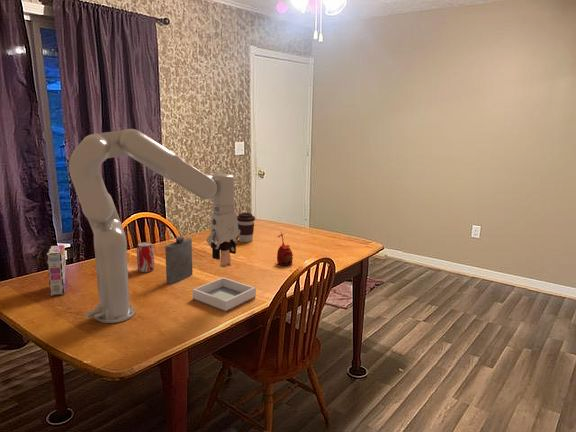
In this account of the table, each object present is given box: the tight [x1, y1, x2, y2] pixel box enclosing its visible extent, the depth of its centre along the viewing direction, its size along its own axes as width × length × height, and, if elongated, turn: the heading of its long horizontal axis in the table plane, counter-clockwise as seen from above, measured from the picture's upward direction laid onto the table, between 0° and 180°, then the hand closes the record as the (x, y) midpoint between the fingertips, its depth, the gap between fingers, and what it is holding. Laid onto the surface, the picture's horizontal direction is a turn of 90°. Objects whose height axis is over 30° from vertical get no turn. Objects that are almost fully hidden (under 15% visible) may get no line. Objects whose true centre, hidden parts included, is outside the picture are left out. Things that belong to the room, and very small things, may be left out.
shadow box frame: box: [192, 276, 257, 313], centre depth 162 cm, size 16×17×4 cm
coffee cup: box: [237, 212, 256, 243], centre depth 235 cm, size 10×10×15 cm
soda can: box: [136, 241, 155, 273], centre depth 188 cm, size 7×7×12 cm
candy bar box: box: [46, 244, 68, 297], centre depth 164 cm, size 11×5×16 cm, turn 21°
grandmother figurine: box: [218, 241, 234, 268], centre depth 158 cm, size 8×4×13 cm, turn 141°
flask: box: [164, 236, 194, 285], centre depth 178 cm, size 4×14×18 cm, turn 152°
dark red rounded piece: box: [276, 231, 294, 266], centre depth 200 cm, size 8×7×15 cm
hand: (224, 255), depth 158 cm, fingers closed on grandmother figurine, 7 cm apart
